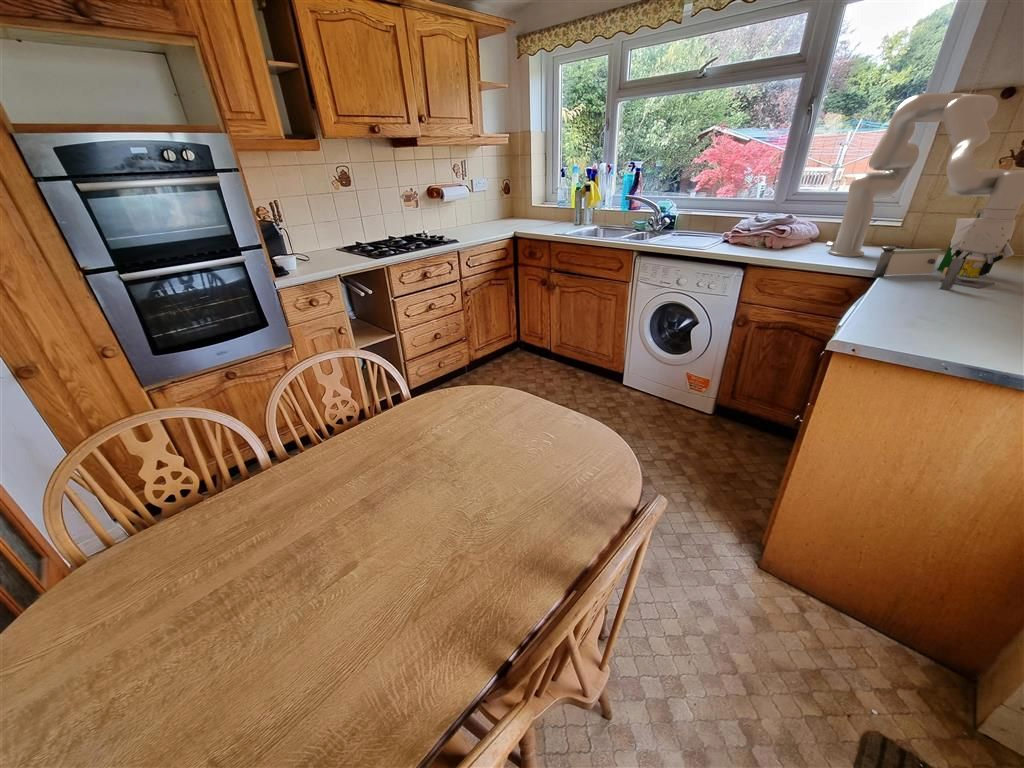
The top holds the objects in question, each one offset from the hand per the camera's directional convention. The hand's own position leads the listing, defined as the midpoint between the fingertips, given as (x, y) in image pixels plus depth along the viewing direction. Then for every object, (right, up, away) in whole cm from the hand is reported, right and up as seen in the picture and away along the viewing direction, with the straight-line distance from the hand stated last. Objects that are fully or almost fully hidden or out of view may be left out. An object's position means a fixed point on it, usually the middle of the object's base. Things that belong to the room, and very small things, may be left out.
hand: (970, 272), depth 142 cm
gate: (-11, +2, +11) cm, 15 cm away
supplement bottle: (0, -2, +1) cm, 2 cm away
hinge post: (-20, +2, +12) cm, 24 cm away
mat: (0, -3, +1) cm, 3 cm away
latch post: (-12, -6, -4) cm, 14 cm away
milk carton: (+8, +3, +13) cm, 16 cm away
